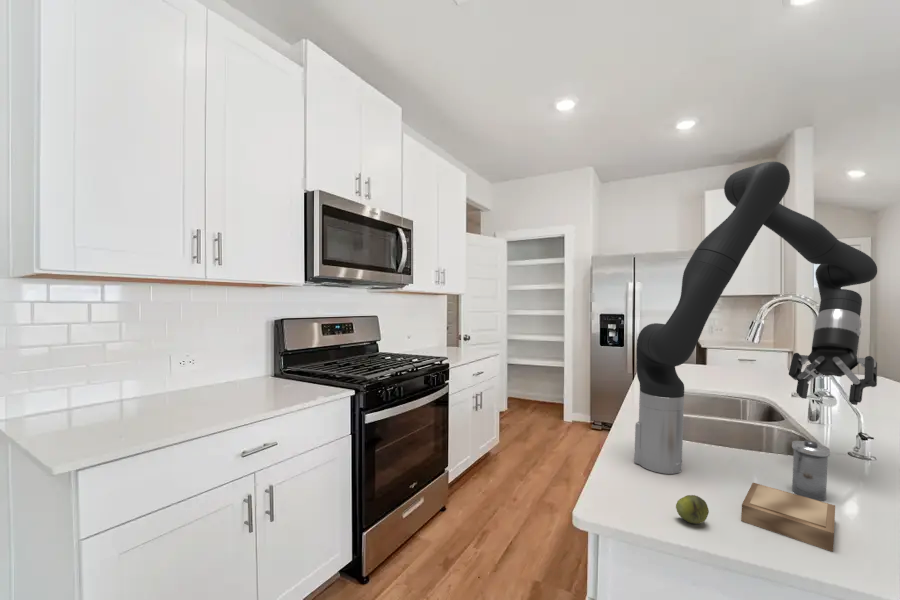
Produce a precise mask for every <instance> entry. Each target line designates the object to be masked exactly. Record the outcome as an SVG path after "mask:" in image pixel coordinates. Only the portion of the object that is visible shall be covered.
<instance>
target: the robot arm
mask: <svg viewBox="0 0 900 600" xmlns="http://www.w3.org/2000/svg"><path fill="white" fill-rule="evenodd" d="M790 181H791V174H790V170H789V169H788V167H787V165H785V164H783V163H782V162H779V161H766V162H763V163H759V164H755V165H752V166H749V167H745V168H742V169H740V170H738V171H735V172H733V173H732V174H730V175H729V177H727V179H726V181H725V184H724V185H723V186H724V187H723V193H724V195H725V198H726V199H727V201H728V203H730V204H731V205H732V206H733V207H734V209H733V211H732V212H731V213H730V214H729V215H728V217H727V218H726V219H724V220H723V221H722V222H721V223H720V224H719V225H718V226H716V228H714V229H713V230H712V231H710V233H708V234H707V236H705V238H704V239H703V240H702V241H701V242H700V243H699V245H698V246H697V247H696V248H695V250H694V251H693V253H692V255H691V257H690V259H689V260H688V262H687V263H686V266H685V268H684V270H683V275H682V280H681V291H680V297H679V300H678V303H677V305H676V307H675V309H674V310H673V312H672V314H671V316H670V317H669V319H668V320H667V321H666V322H665V323H655V322H654V323H650V324H647V325H646V326H644V327H643V328H642V329H641V330H640V331H639V332H638V333H639V334H638V337H637V339H636V340H637V341H636V376H637V379H638V382H639V403H638V405H639V407H638V408H639V409H638V421H637V422H635V426H634V429H635V431H634V457H633V458H634V461H633V463H634V464H636V465H637V464H638V465H639V466H641V467H642V468H644V469H647V470H648V471H652V472H655V473H659V474H664V475H665V474H667V475H668V474H669V475H673V474H678V473H679V474H680V472H681V471H682V467H683V443H684V442H683V441H684V439H683V438H684V410H685V409H684V408H685V407H684V406H685V384H684V382H683V380H682V379H680V377H679V375H678V373H677V370H676V367H678V366H681V365H683V364H684V363H685V362H687V361H688V360H689V359H690V357H691V356H692V354H693V353H694V351H695V349H696V347H697V344H698V342H699V339H700V337H701V335H702V333H703V330H704V328H705V326H706V323H707V321H708V319H709V317H710V315H711V313H713V312H712V311H713V310H714V308H715V307H716V304H718V302H719V300H720V297H721V296H722V294H723V292H724V290H725V289H726V287H727V286H728V284H729V282H730V281H731V279H732V278H733V276H734V274H735V272H736V271H737V269H738V267H739V266H740V264H741V261H742V260H743V258H744V256H745V254H746V253H747V251H748V249H749V248H750V246H751V245H752V243H753V241H754V240H755V238H756V236H757V235H758V233H759V231H760V230H761V228H762V227H763V226H765V227H766V228H768V229H769V230H771V231H772V232H774V233H775V234H776V235H777V236H779V237H780V238H781V239H783V240H784V241H786V243H788V244H789V245H790V246H791V247H792V248H793V249H794V250H795V251H796V252H798V253H799V254H800V255H801V256H802V257H803V258H804V260H806V261H807V262H809V263H811V264H813V265H818V266H817V267H816V270H815V272H814V275H815V280H816V283H817V287H818V293H819V297H820V303H819V309H818V314H817V318H816V320H815V325H814V329H813V330H814V332H813V337H812V343H811V352H810V354H809V355H804V354H800V353H799V352H794V353H793V354H792V358H791V362H790V366H789V371H788V376H790V378H792V379H793V380H794V381H797V385H796V390H795V391H796V394H798V396H799V397H800V398H801V399H807V398H808V392H809V391H808V390H809V385H810V384H809V383H810V382H811V381H812V380H813V379H816V378H818V377H819V376H820V375H822V376H827V377H828V376H834V377H838V378H839V377H841V378H842V377H843V376H846V377H847V378H848V379H849V380H850V381H851V383H852V384H850V389H849V396H848V402H849V403H850V404H851V405H855V406H857V405H858V403H861V402H862V401H863V393H864V392H863V391H864V389H865V388H869V387H871V388H875V387H877V385H878V362H877V361H876V360H875V358H874V357H873V356H870V355H866V356H865V357H858V351H859V342H860V336H861V313H862V305H863V298H862V295H860V293H859V292H857V291H855V290H853V289H846V288H845V287H850V286H855V285H862V284H866V283H869V282H871V281H872V280H874V279H875V278H876V276H877V275H878V266H877V263H876V261H874V259H873V258H872V257H871V256H870V255H868V254H867V253H865V252H864V251H862V250H860V249H857V248H855V247H854V246H851V245H849V244H847V243H846V242H842V241H841V240H839V239H838V238H837V237H836V236H835V235H834V234H832V232H830V230H828V229H827V228H826V227H825V226H824V225H823V224H822V223H820V222H819V221H817V220H815V219H813V218H811V217H809V216H807V215H804V214H802V213H800V212H798V211H795V210H793V209H791V208H788V207H787V206H785V205H783V204H782V203H781V201H782V200H783V198H784V197H785V195H786V194H787V191H788V189H789V187H790ZM807 362H809V363H810V364H808V366H806V367H805V368H804V370H803V371H802V369H803V365H805V364H807ZM859 364H860V365H861V367H862V368H863V369H864V378H860V379H859V377H858V376H857V375H856V374H855V373H854V371H852V370H854V369H855V368H856V367H857V366H859Z"/></svg>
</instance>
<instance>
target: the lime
mask: <svg viewBox="0 0 900 600" xmlns="http://www.w3.org/2000/svg"><path fill="white" fill-rule="evenodd" d="M675 509H676V512H677V514H678V515H679V517H680V518H681V519H683V520H684V521H685V522H687V523H689V524H702V523H704V522H705V521H706V520H707V518H708V515H709V513H710V512H709V506H708V504H707V502H706V500H704V499H703V498H701V497H700V496H698V495H695V494H694V495H693V494H689V495H684V496H683V497H681V498H679V499H678V500H677V502H676V503H675Z"/></svg>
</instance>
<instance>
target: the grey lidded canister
mask: <svg viewBox="0 0 900 600" xmlns="http://www.w3.org/2000/svg"><path fill="white" fill-rule="evenodd" d="M791 448H792V450H793V456H792V457H793V460H792V461H793V462H792V478H791V479H792V483H791V484H792V485H791V487H792V488H791V492H792V493H793V492H794V493H793V494H796V495H800V496H803V497H807V498H810V499H814V500H818V501H821V502H824V501H826V500H827V483H828V482H827V481H828V462H829V460H828V458H829V457H830V455H831V449H830V448H829V447H827V446H825V445H822V444H819V443H818V442H816V441H813V440H809V439H808V440H805V439H804V440H793V441H792V442H791Z"/></svg>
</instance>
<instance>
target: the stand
mask: <svg viewBox="0 0 900 600" xmlns="http://www.w3.org/2000/svg"><path fill="white" fill-rule="evenodd" d="M740 514H741V515H740V516H741V518H740V521H741V522H744V523H746V524H749V525H752V526H756V527H759V528H760V529H764V530H767V531H770V532H773V533H776V534H779V535H781V536H785V537H787V538H791V539H794V540H797V541H799V542H803V543H806V544H808V545H812V546H815V547H817V548H820V549H824V550H827V551H829V552H832V553H834V541H835V539H834V538H835V521H836V520H835V519H836V518H835V517H836V505H835V504H832V503H828V502H824V501H818V500H814V499H810V498H807V497H803V496H800V495H796V494H795V493H793V492H792V493H791V492H789V491H785V490H781V489H778V488H774V487H771V486H767V485H763V484H760V483H757V482H752V483H751V485H750V487H749V489H748V491H747V493H746V494H745V497H744V499H743V501H742V503H741V513H740Z"/></svg>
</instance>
